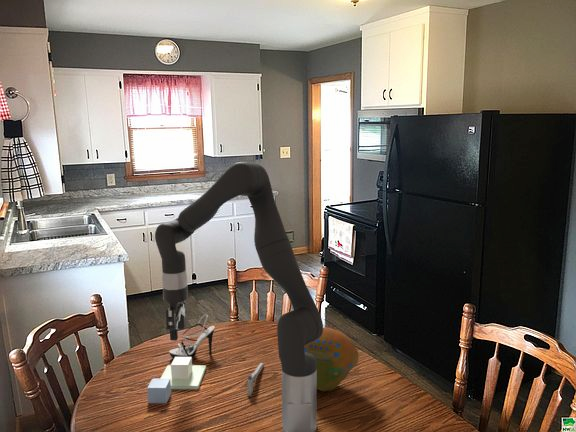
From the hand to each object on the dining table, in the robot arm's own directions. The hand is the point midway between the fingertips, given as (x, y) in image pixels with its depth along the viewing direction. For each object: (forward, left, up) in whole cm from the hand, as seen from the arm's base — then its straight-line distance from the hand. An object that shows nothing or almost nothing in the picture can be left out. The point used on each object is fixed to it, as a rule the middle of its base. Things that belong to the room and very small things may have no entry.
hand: (177, 334), depth 153 cm
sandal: (+17, 0, -16) cm, 23 cm away
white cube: (+1, 0, -15) cm, 15 cm away
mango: (-3, -46, -16) cm, 49 cm away
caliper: (+1, -24, -16) cm, 29 cm away
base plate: (+1, 0, -16) cm, 16 cm away
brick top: (-10, +4, -16) cm, 19 cm away
